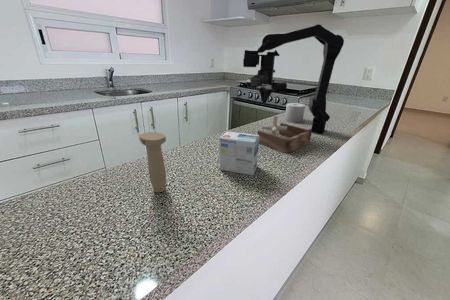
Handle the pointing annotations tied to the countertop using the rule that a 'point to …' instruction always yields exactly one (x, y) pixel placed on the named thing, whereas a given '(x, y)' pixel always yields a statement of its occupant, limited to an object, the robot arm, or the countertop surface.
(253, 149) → the light bulb box
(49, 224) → the countertop surface
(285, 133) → the walnut bay
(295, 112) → the toilet tissue
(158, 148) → the handle
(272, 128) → the pipe connector
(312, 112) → the robot arm
